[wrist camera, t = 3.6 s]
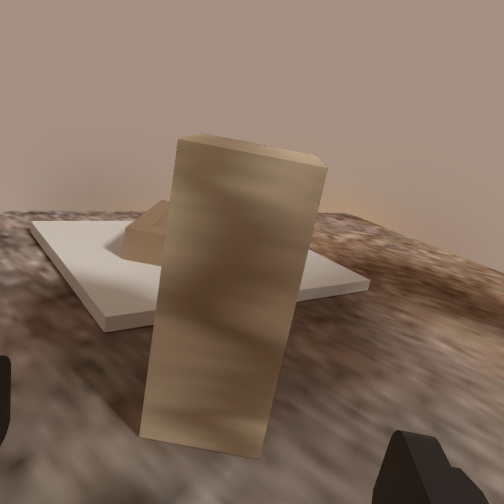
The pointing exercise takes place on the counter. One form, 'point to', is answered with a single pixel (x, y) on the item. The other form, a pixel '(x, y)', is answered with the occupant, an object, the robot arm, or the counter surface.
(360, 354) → the counter surface
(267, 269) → the maple peg
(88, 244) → the socket board
